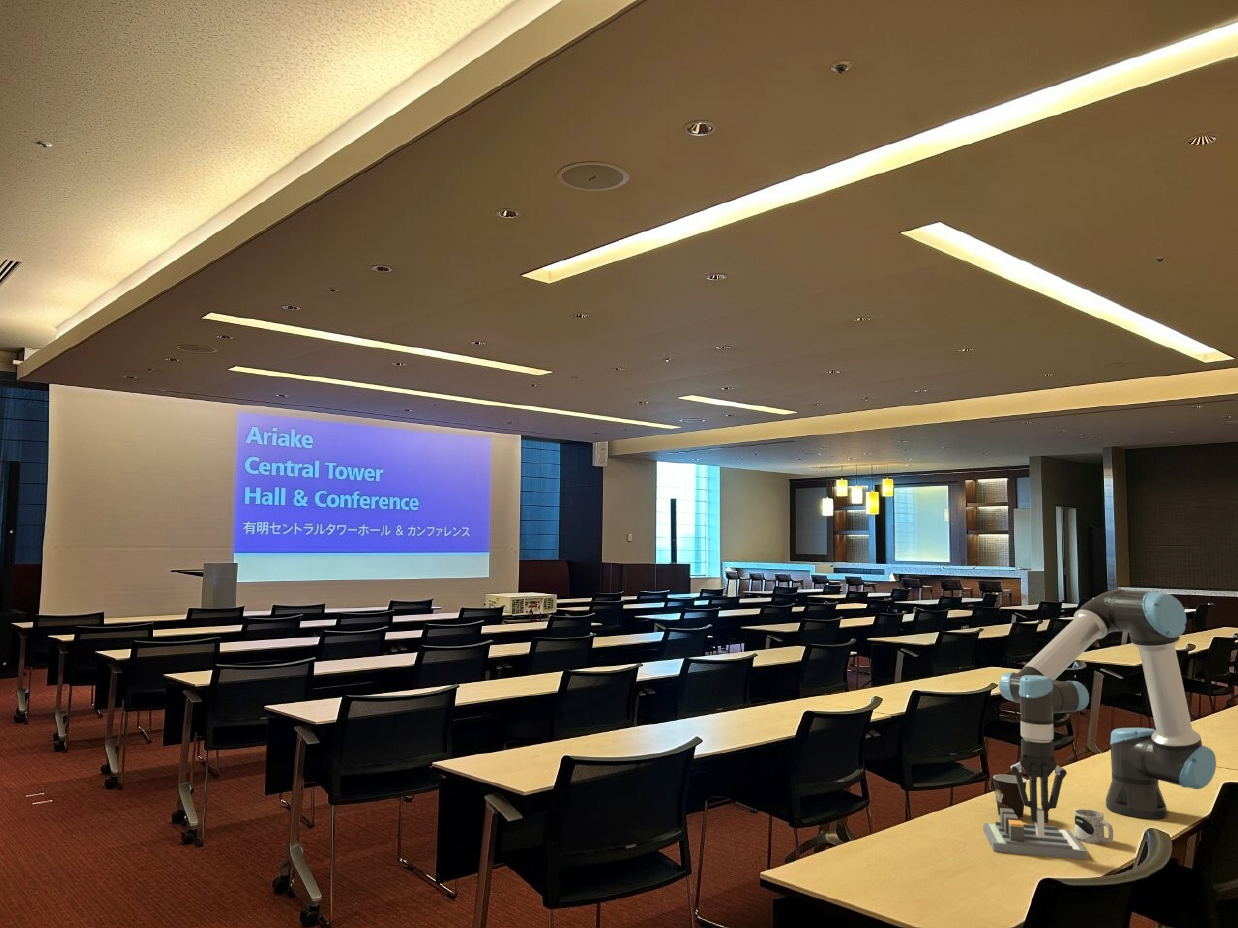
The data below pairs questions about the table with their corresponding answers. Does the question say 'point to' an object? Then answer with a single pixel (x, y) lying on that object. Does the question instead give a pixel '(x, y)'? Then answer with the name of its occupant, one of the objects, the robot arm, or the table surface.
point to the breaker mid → (1006, 818)
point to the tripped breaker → (1016, 830)
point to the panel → (1036, 842)
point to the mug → (1091, 827)
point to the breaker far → (1004, 811)
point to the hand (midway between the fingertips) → (1040, 835)
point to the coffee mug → (1008, 793)
